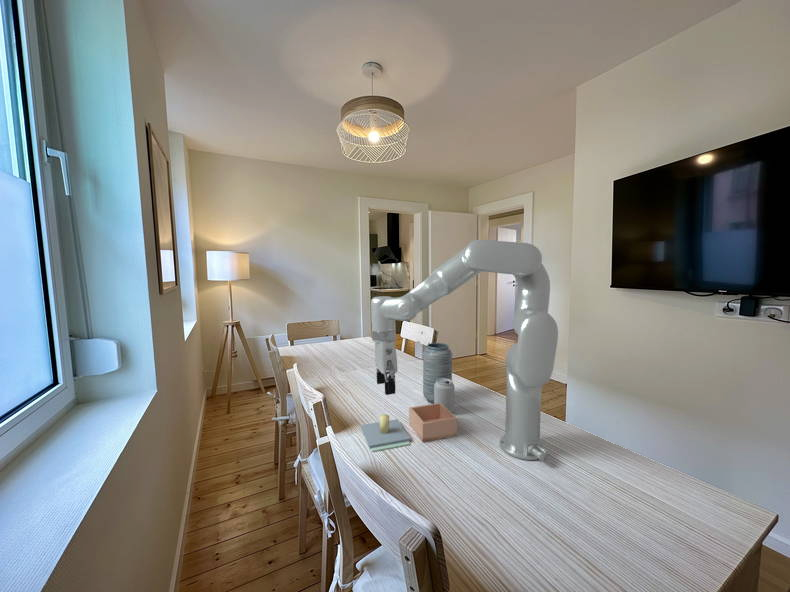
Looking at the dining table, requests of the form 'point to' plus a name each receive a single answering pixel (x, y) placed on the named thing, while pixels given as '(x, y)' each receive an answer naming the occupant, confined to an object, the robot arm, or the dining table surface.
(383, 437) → the lid
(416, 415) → the salmon open box
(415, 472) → the dining table surface
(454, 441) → the dining table surface
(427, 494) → the dining table surface
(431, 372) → the vase
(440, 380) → the can
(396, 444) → the mat
